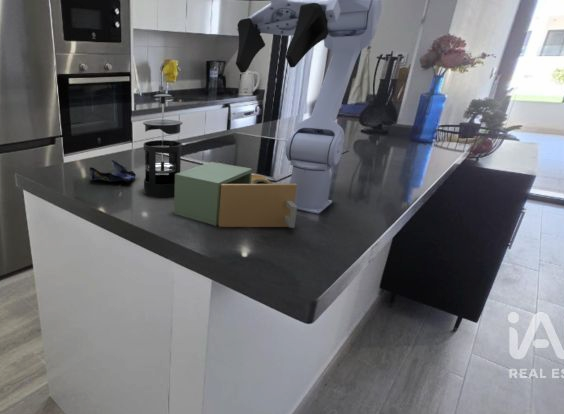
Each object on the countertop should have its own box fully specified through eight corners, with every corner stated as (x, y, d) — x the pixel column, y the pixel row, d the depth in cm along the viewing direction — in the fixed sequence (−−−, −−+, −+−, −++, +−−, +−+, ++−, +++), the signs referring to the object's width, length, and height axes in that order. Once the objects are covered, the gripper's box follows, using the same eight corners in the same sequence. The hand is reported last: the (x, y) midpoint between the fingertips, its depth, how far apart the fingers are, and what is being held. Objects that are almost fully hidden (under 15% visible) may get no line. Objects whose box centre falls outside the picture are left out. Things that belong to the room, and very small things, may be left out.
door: (298, 234, 69) (304, 190, 66) (222, 234, 69) (225, 191, 66) (290, 225, 73) (295, 183, 70) (218, 225, 73) (221, 183, 70)
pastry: (234, 183, 99) (236, 169, 98) (260, 182, 100) (261, 168, 99) (247, 194, 91) (248, 179, 89) (274, 193, 91) (276, 178, 90)
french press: (167, 202, 86) (168, 96, 78) (133, 194, 91) (131, 95, 83) (191, 189, 95) (195, 93, 87) (160, 183, 100) (160, 92, 92)
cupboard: (248, 207, 83) (252, 168, 80) (215, 226, 73) (218, 183, 70) (209, 197, 89) (211, 161, 86) (174, 214, 79) (174, 174, 76)
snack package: (111, 173, 110) (82, 181, 102) (113, 152, 108) (83, 158, 99) (143, 187, 104) (115, 197, 96) (147, 165, 102) (118, 173, 93)
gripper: (243, -18, 59) (208, 50, 56) (343, -47, 49) (307, 34, 46) (260, 18, 64) (229, 83, 61) (354, -1, 53) (322, 75, 50)
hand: (263, 65), depth 53 cm, fingers open, 7 cm apart
